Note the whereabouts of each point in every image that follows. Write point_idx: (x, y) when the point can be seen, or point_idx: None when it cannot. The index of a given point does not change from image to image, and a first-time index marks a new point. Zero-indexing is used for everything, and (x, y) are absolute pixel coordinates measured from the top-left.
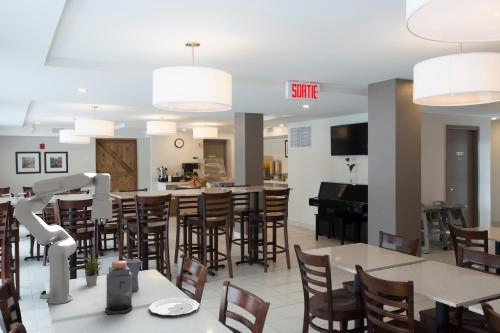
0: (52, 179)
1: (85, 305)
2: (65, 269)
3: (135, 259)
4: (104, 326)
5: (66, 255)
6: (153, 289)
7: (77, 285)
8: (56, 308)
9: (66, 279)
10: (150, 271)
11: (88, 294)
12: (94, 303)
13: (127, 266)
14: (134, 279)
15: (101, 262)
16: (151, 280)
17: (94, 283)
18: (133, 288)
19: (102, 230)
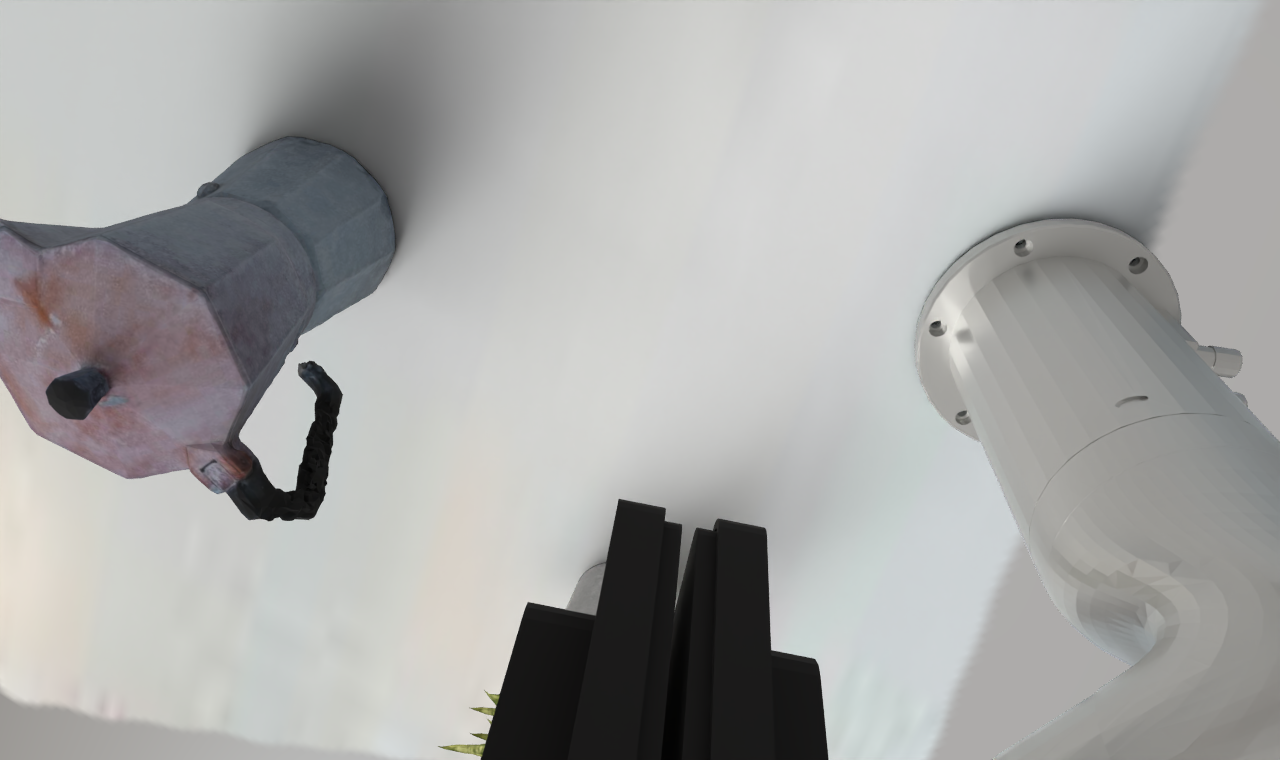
0: None
1: (896, 8)
2: (1152, 446)
3: (49, 358)
4: None
5: (1250, 585)
6: (64, 107)
7: None
8: (1180, 102)
9: (1080, 374)
10: (22, 662)
11: (734, 353)
12: (788, 16)
13: (229, 278)
14: (219, 191)
15: (486, 738)
16: None
17: (597, 576)
18: (280, 151)
19: (648, 534)
